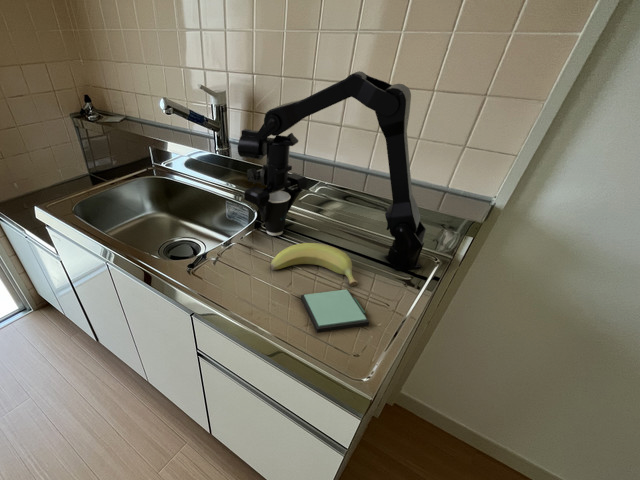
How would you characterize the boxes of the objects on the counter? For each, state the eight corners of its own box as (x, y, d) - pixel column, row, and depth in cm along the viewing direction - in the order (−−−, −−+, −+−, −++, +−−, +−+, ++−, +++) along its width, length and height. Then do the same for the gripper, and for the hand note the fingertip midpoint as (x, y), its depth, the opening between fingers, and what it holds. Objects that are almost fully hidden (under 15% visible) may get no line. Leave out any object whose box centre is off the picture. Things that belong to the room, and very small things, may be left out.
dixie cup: (260, 225, 103) (260, 190, 96) (286, 224, 103) (288, 189, 96) (262, 238, 97) (262, 202, 90) (290, 237, 97) (292, 201, 90)
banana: (301, 226, 87) (371, 262, 78) (301, 241, 92) (367, 276, 83) (267, 258, 83) (337, 300, 74) (268, 272, 87) (335, 313, 78)
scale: (349, 292, 78) (350, 287, 77) (370, 325, 69) (372, 320, 68) (300, 299, 76) (301, 293, 75) (316, 333, 68) (317, 327, 67)
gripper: (281, 147, 96) (279, 200, 106) (229, 162, 87) (232, 218, 97) (311, 156, 89) (305, 211, 99) (258, 173, 81) (258, 231, 91)
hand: (275, 217), depth 97 cm, fingers closed on dixie cup, 8 cm apart
